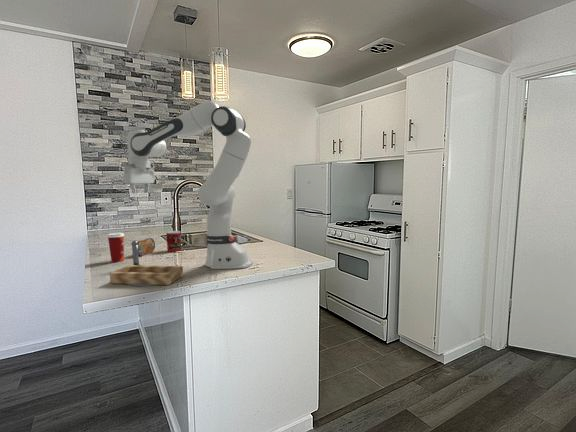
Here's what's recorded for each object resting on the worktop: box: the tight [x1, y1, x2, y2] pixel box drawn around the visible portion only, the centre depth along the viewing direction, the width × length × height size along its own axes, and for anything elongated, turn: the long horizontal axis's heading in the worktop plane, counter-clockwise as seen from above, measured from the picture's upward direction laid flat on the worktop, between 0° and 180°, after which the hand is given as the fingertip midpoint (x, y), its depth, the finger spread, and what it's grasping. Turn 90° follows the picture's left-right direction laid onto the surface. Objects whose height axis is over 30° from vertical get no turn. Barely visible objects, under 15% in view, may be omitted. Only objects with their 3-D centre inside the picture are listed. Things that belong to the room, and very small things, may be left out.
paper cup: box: [107, 232, 125, 263], centre depth 163 cm, size 8×8×14 cm
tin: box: [136, 237, 156, 257], centre depth 178 cm, size 15×3×8 cm, turn 168°
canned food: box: [166, 230, 182, 253], centre depth 186 cm, size 8×8×11 cm
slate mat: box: [127, 284, 157, 287], centre depth 130 cm, size 16×16×1 cm
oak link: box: [109, 264, 184, 286], centre depth 129 cm, size 24×12×4 cm, turn 82°
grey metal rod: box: [130, 240, 140, 265], centre depth 150 cm, size 4×4×13 cm
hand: (140, 193), depth 158 cm, fingers open, 8 cm apart
